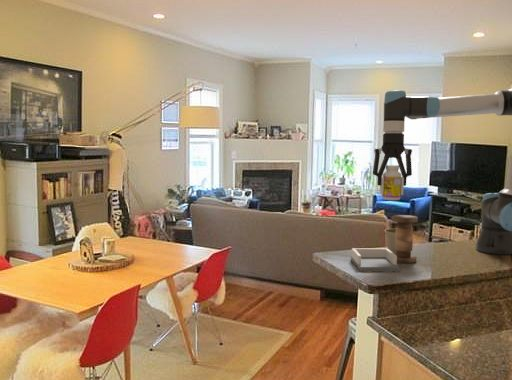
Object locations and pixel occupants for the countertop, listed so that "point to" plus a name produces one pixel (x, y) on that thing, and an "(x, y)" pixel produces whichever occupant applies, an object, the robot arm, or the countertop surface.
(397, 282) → the countertop surface
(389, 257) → the grey shallow tray
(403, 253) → the spool post
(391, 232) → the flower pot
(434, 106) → the robot arm
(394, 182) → the supplement bottle
